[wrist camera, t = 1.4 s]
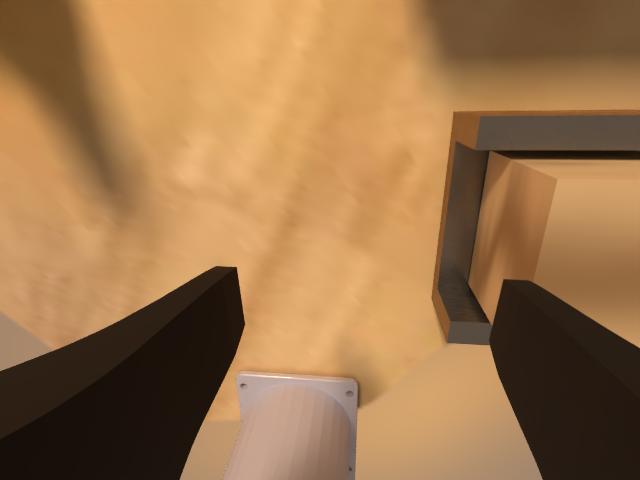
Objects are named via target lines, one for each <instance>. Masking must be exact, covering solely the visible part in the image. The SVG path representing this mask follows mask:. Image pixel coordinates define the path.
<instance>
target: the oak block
mask: <svg viewBox="0 0 640 480" xmlns="http://www.w3.org/2000/svg"><path fill="white" fill-rule="evenodd" d="M503 279H513V280H529V281H531V282H533V283H535V284H537V285H538V286H540V287H542V288H544V289H545V290H547V291H549V292H550V293H552V294H553V295H555V296H557V297H558V298H560V299H561V300H563V301H564V302H566V303H568V304H569V305H571V306H572V307H574V308H575V309H577V310H579V311H580V312H582V313H583V314H585V315H586V316H588V317H590V318H591V319H593V320H594V321H596V322H598V323H599V324H601V325H602V326H604V327H606V328H607V329H609V330H610V331H612V332H614V333H615V334H617V335H619V336H620V337H622V338H624V339H625V340H627V341H629V342H630V343H632V344H634V345H636V346H637V347H639V348H640V151H635V150H490V152H489V158H488V164H487V170H486V177H485V183H484V189H483V195H482V201H481V207H480V214H479V220H478V226H477V232H476V238H475V245H474V251H473V257H472V263H471V269H470V276H469V282H468V284H469V286H470V288H471V290H472V291H473V293H474V295H475V297H476V298H477V300H478V302H479V304H480V305H481V307H482V309H483V311H484V312H485V314H486V316H487V318H488V320H489V321H490V323H491V325H493V321H494V317H495V312H496V308H497V304H498V300H499V296H500V291H501V287H502V283H503Z"/></svg>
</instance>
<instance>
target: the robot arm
mask: <svg viewBox="0 0 640 480" xmlns="http://www.w3.org/2000/svg"><path fill="white" fill-rule="evenodd" d="M244 326H245V321H244V314H243V307H242V300H241V294H240V287H239V280H238V273H237V267H221V266H216V267H214V268H212V269H210V270H208V271H206V272H204V273H202V274H201V275H199V276H197V277H195V278H194V279H192V280H190V281H189V282H187V283H185V284H184V285H182V286H180V287H179V288H177V289H175V290H173V291H172V292H170V293H168V294H167V295H165V296H163V297H162V298H160V299H158V300H157V301H155V302H153V303H151V304H149V305H148V306H146V307H144V308H142V309H140V310H138V311H137V312H135V313H133V314H131V315H129V316H127V317H126V318H124V319H122V320H120V321H118V322H116V323H114V324H112V325H110V326H108V327H106V328H104V329H102V330H100V331H98V332H96V333H94V334H91V335H89V336H87V337H85V338H83V339H80V340H78V341H76V342H74V343H71V344H69V345H67V346H64V347H62V348H59V349H57V350H54V351H52V352H49V353H47V354H44V355H42V356H39V357H37V358H34V359H31V360H29V361H26V362H24V363H21V364H19V365H16V366H13V367H11V368H8V369H5V370H2V371H0V480H180V477H181V474H182V472H183V469H184V466H185V463H186V461H187V458H188V455H189V453H190V450H191V447H192V445H193V443H194V440H195V438H196V436H197V434H198V431H199V429H200V427H201V425H202V423H203V421H204V419H205V417H206V415H207V413H208V411H209V408H210V406H211V404H212V402H213V400H214V398H215V396H216V394H217V392H218V390H219V388H220V386H221V384H222V382H223V380H224V378H225V376H226V374H227V371H228V369H229V367H230V365H231V363H232V361H233V359H234V357H235V354H236V351H237V348H238V345H239V342H240V339H241V336H242V333H243V330H244ZM489 343H490V347H491V351H492V354H493V358H494V362H495V365H496V368H497V372H498V375H499V378H500V380H501V383H502V385H503V387H504V390H505V392H506V394H507V397H508V399H509V401H510V404H511V406H512V408H513V411H514V413H515V415H516V418H517V420H518V422H519V424H520V427H521V429H522V431H523V433H524V436H525V438H526V440H527V443H528V445H529V447H530V450H531V452H532V454H533V456H534V459H535V461H536V463H537V466H538V468H539V471H540V473H541V476H542V479H543V480H640V348H639V347H637V346H636V345H634V344H632V343H630V342H629V341H627V340H625V339H624V338H622V337H620V336H619V335H617V334H615V333H614V332H612V331H610V330H609V329H607V328H606V327H604V326H602V325H601V324H599V323H598V322H596V321H594V320H593V319H591V318H590V317H588V316H586V315H585V314H583V313H582V312H580V311H579V310H577V309H575V308H574V307H572V306H571V305H569V304H568V303H566V302H564V301H563V300H561V299H560V298H558V297H557V296H555V295H553V294H552V293H550V292H549V291H547V290H545V289H544V288H542V287H540V286H538V285H537V284H535V283H533V282H531V281H529V280H513V279H503V283H502V287H501V291H500V296H499V300H498V304H497V308H496V312H495V317H494V321H493V325H492V329H491V333H490V338H489ZM236 383H237V390H238V398H239V406H240V413H241V421H242V425H241V428H240V430H239V433H238V436H237V439H236V441H235V444H234V447H233V450H232V452H231V455H230V458H229V461H228V463H227V466H226V469H225V472H224V474H223V477H222V480H355V459H356V431H357V430H356V429H357V402H358V382H357V381H356V380H355V379H352V378H343V377H328V376H313V375H299V374H284V373H270V372H255V371H240V372H239V373H238V375H237V377H236ZM243 383H244V384H246V385H244V384H243ZM347 391H352V392H351V393H350V392H347Z"/></svg>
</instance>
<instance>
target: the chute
mask: <svg viewBox="0 0 640 480" xmlns="http://www.w3.org/2000/svg"><path fill="white" fill-rule="evenodd" d="M490 150H635V151H640V110H579V111H476V112H454V115H453V123H452V132H451V140H450V148H449V157H448V165H447V173H446V182H445V190H444V198H443V207H442V215H441V223H440V232H439V240H438V248H437V257H436V265H435V273H434V282H433V290H432V301H433V304H434V306H435V309H436V312H437V315H438V318H439V321H440V324H441V327H442V330H443V332H444V335H445V338H446V341H447V343H458V344H476V345H490V343H489V338H490V333H491V329H492V325H491V323H490V321H489V320H488V318H487V316H486V314H485V312H484V311H483V309H482V307H481V305H480V304H479V302H478V300H477V298H476V297H475V295H474V293H473V291H472V290H471V288H470V286H469V284H468V282H469V276H470V269H471V263H472V257H473V251H474V245H475V238H476V232H477V226H478V220H479V214H480V207H481V201H482V195H483V189H484V183H485V177H486V170H487V164H488V158H489V152H490Z"/></svg>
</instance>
